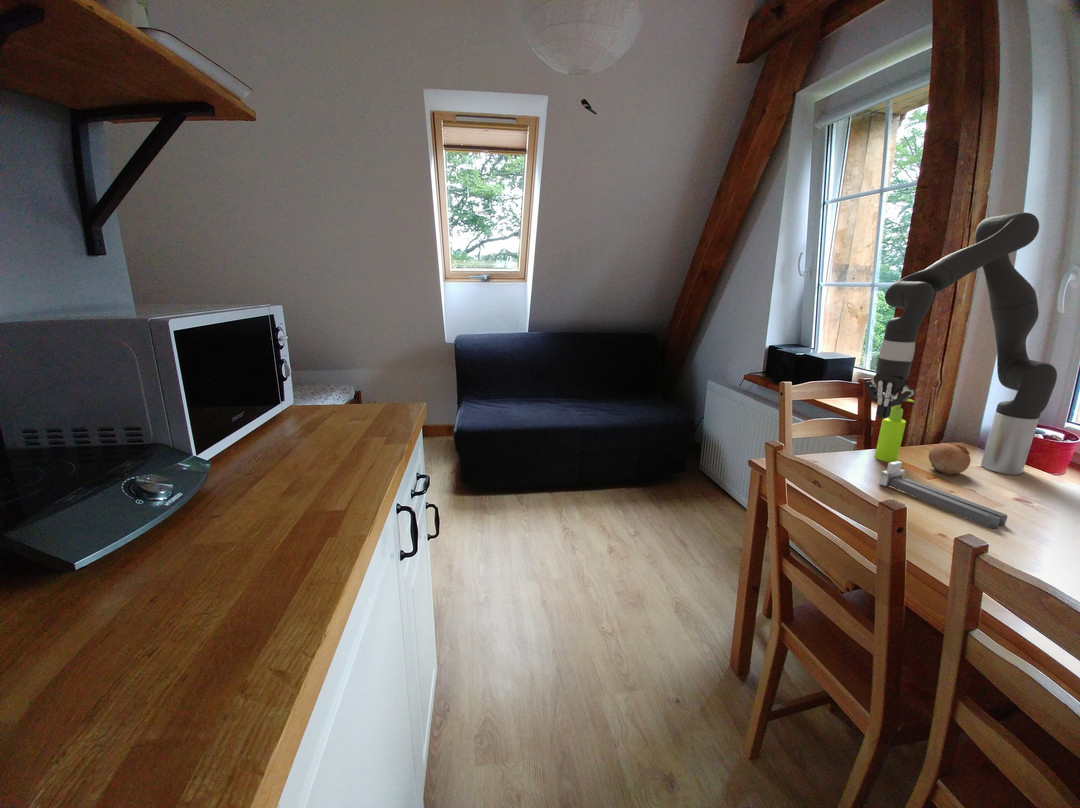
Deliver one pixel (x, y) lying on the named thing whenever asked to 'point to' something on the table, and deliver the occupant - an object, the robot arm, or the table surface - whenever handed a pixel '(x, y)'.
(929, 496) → the base
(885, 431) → the soap dispenser
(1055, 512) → the table surface
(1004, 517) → the bar
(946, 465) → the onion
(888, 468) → the rail slider block
